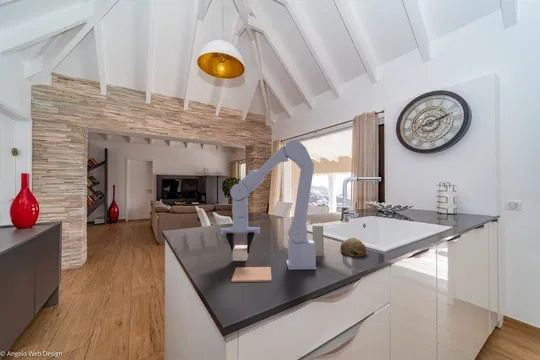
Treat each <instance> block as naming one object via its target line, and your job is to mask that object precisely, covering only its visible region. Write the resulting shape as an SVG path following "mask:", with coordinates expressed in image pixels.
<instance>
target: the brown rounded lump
mask: <svg viewBox="0 0 540 360" xmlns="http://www.w3.org/2000/svg"><path fill="white" fill-rule="evenodd" d="M340 252H341V253H342V254H344V255H347V256H349V257H365V255H366V254H367V246H366V245H365V244H364V243H363V242H362V241H361V240H360V239H358V238H356V237H351V238H350V237H349V238H347V239H346V240H345V239H344V241H343V242H341V244H340Z"/></svg>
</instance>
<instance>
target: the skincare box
mask: <svg viewBox="0 0 540 360" xmlns="http://www.w3.org/2000/svg"><path fill="white" fill-rule="evenodd" d="M311 226H312V227H311V228H312V240H313V241H314V243H315V250H316V257H324V256H325V254H324V252H325V250H324V249H325V247H324V245H325V244H324V224H323V223H312V225H311Z"/></svg>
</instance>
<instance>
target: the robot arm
mask: <svg viewBox="0 0 540 360" xmlns="http://www.w3.org/2000/svg"><path fill="white" fill-rule="evenodd" d="M289 160H291V161H292V162H294V163H295V165H296V166H297V167H298V168H299V169H300V173H299V178H298V179H299V180H298V186H297V193H296V198H295V206H294V213H293V219H292V221H291V224H290V226H289V229H288V232H287V233H288V239H287V244H288V245H287V247H288V248H287V249H288V250H287V251H288V253H287V254H288V259H287V260H286V261H285V262H286V265H287V270H317V267H316V266H317V264H316V259H317V258H316V257H317V256H316V250H315V243H314V241H313V239H312V240H311V239H309V238H308V237H307V236H308V231H307V230H308V225H307V216H308V209H309V202H310V195H311V188H312V183H313V176H314V175H313V174H314V169H315V165H314V162H313V160H312V158H311V156H310V154H309V151H308V148H307V147H306V146H305V145H304V144H303V143H302V142H300V141H299V140H296V139H292V140H289V141H288V142H286V144H284V145H283V146H281V147H280V148H278V150H277V151H276V152H275V153H274V154H273V155H272V156H271V157H270V158H269V159H268V160H266V162H265V163H264V164H262V165H261V166H260V168H258V169H253V170H249V171H248V172H247V175H246V176H245V177H243V178H242V179H239V180H238V183H235V184H233V185H232V187H231V188H230V192H229V193H230V194H229V195H230V196H231V198H232V226H230V227H221V228H220V235H225V234H226V235H225V238H226V240H227V242H228V245H229V247H230V251H231V255H233V249H234V247H235V234H246V239H247V240H246V241H247V242H246V243H247V244H246V245H247V254H248V255H249V254H250V248H251V246H252V242H253V239H254V238H255V234H258V235H259V234H261V227H259V226H258V227H257V226H249V203H248V201H249V199H248V198H249V196H250V194H251V193H253V191H255V189H257V188H258V187H259V186H260V185H261V184H262V183H264V180H265V176H266V175H268V173H270V172H271V171H272V170H273V169H274V168H275V167H277V166H278V165H279V164H281V163H286V162H289Z"/></svg>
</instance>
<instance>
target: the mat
mask: <svg viewBox="0 0 540 360" xmlns="http://www.w3.org/2000/svg"><path fill="white" fill-rule="evenodd" d="M258 282H260V283H261V282H262V283H263V282H267V283H268V282H272V267H271V266H246V267H244V266H243V267H241V266H240V267H236V266H235V270H234V272H233V274H232V278H231V283H258Z"/></svg>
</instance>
